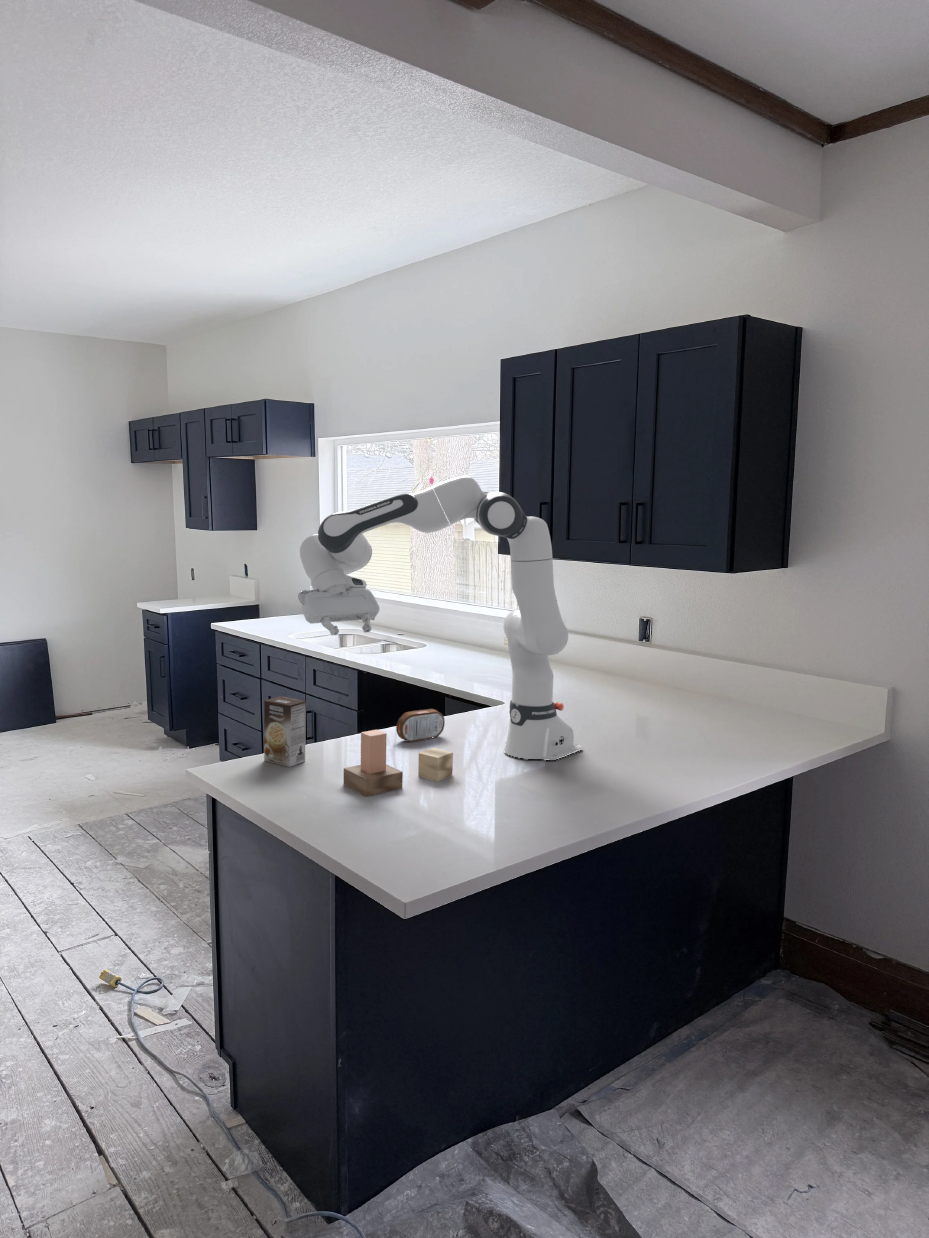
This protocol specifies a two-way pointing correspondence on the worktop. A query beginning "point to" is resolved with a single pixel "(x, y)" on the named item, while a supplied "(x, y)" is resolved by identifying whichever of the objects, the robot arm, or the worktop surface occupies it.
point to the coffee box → (284, 731)
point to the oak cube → (435, 764)
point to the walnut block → (373, 780)
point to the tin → (420, 725)
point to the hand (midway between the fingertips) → (352, 632)
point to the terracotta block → (373, 751)
